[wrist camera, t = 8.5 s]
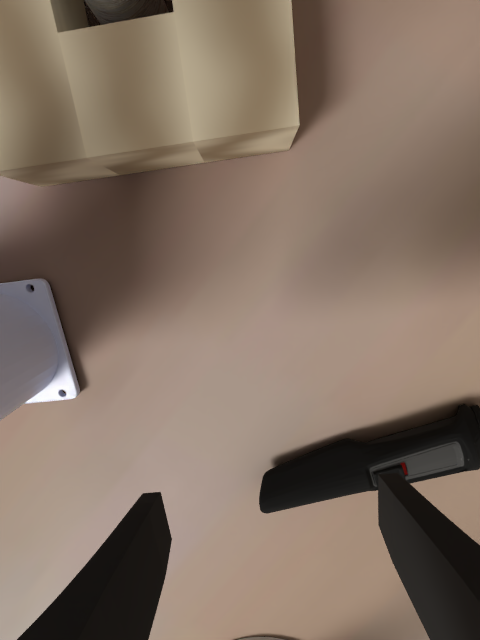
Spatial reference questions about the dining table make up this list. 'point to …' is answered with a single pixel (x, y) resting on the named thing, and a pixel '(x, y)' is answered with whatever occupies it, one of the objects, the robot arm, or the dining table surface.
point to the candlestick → (261, 638)
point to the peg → (125, 9)
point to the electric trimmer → (375, 462)
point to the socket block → (142, 88)
